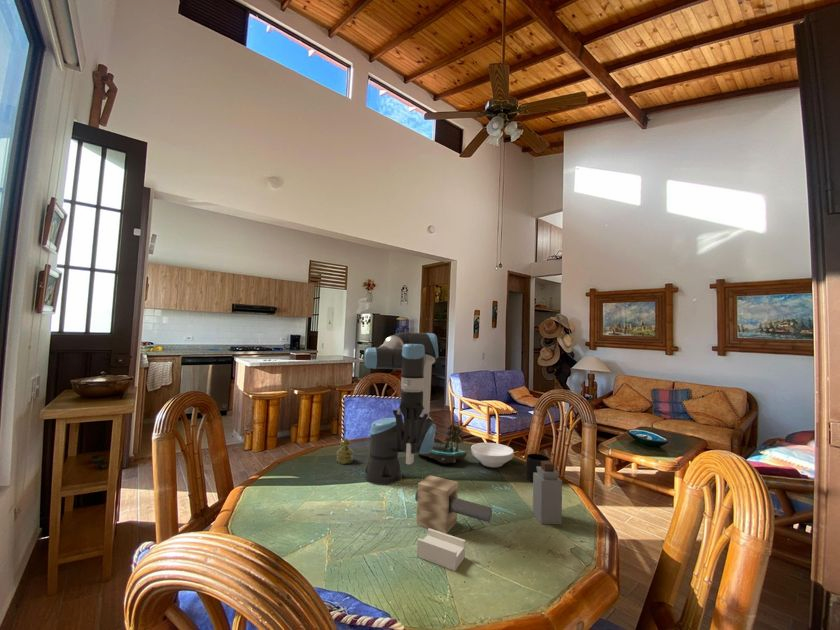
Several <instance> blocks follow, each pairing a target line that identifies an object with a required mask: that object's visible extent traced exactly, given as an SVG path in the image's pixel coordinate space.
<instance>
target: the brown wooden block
mask: <svg viewBox="0 0 840 630" xmlns="http://www.w3.org/2000/svg"><path fill="white" fill-rule="evenodd" d="M458 485H459V482H458V481H455V480H451V479H446V478H443V477H439V476H434V475H432V474H429V475H428V476H426V477H425V478H424V479H422V480H421V481H419V482H418V483H417V489H418V499H417V501H416V504H417V505H416V506H417V507H416V525H417V526H419V527H422V528H426V529H427V530H428V529H429V528H430V529H433V530H436V531H439V532H442V533H445V534H448V533H449V532H450V531H451V529H453V527H455V525H456V524H457V523H458V522H457V520H458V518H457V516H458V513H455V512H451V511H448V510H449V496H451V497H455V498H458V488H459V487H458Z"/></svg>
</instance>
